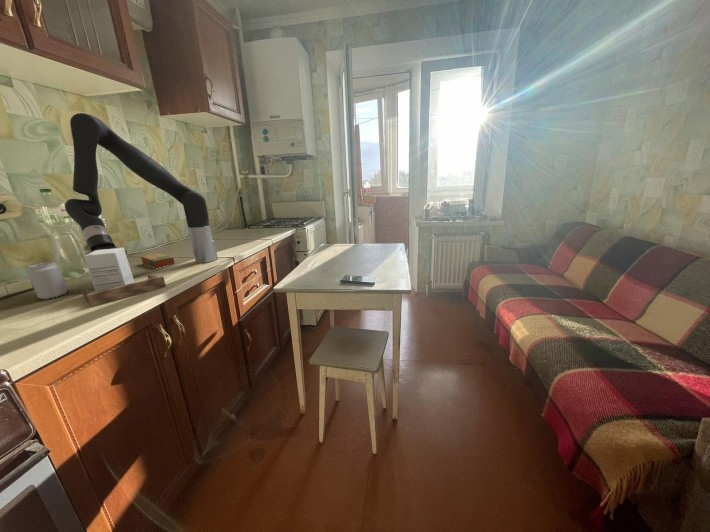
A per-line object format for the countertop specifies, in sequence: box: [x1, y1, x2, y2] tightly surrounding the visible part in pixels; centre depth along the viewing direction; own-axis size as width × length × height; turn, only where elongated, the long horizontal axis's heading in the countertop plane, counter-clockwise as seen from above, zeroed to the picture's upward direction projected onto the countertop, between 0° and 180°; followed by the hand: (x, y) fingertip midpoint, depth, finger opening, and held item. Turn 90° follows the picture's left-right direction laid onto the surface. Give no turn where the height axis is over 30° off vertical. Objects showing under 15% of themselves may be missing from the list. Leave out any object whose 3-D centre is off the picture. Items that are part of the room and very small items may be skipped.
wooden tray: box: [80, 273, 167, 308], centre depth 101 cm, size 21×15×4 cm
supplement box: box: [83, 247, 135, 292], centre depth 100 cm, size 9×9×15 cm
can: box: [26, 261, 68, 300], centre depth 98 cm, size 8×8×12 cm
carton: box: [140, 253, 176, 269], centre depth 135 cm, size 8×16×4 cm, turn 55°
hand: (115, 274), depth 105 cm, fingers closed
